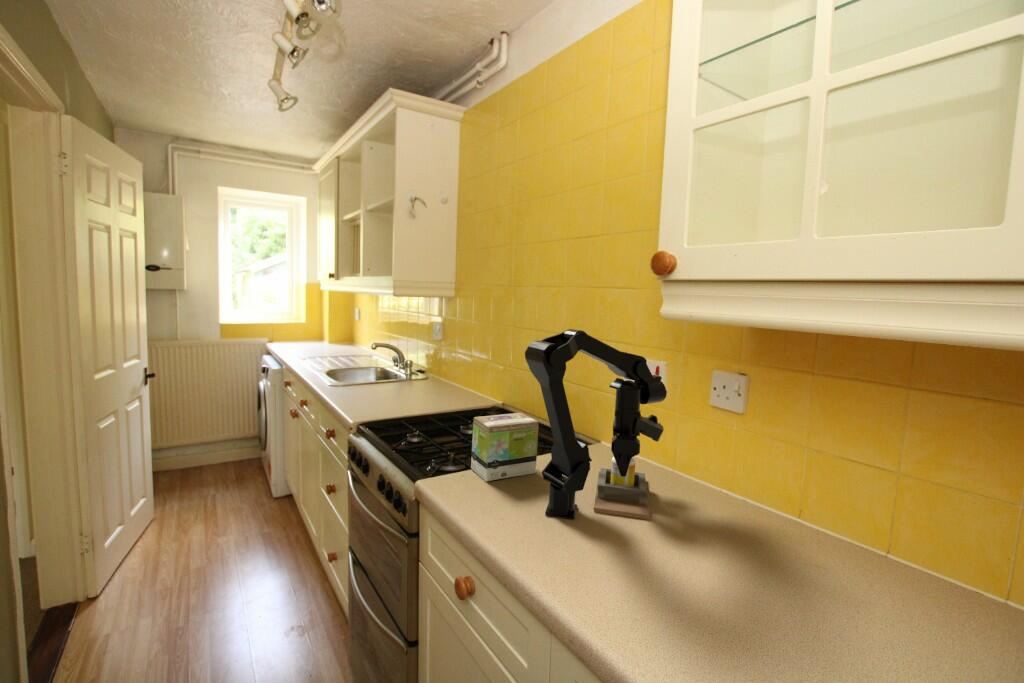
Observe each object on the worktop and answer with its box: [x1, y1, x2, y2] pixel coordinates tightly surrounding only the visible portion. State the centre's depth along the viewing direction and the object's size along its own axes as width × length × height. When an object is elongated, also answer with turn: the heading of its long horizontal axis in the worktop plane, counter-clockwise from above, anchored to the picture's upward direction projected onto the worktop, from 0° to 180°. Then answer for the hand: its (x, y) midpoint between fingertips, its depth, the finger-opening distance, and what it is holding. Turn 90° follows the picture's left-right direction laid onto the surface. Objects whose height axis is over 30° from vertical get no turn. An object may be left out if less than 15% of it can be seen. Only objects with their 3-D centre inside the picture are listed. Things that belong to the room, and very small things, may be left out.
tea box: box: [470, 412, 540, 483], centre depth 125 cm, size 15×10×15 cm
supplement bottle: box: [610, 456, 636, 487], centre depth 114 cm, size 6×6×10 cm
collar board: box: [593, 467, 650, 521], centre depth 114 cm, size 22×12×4 cm, turn 167°
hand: (623, 468), depth 114 cm, fingers open, 9 cm apart
